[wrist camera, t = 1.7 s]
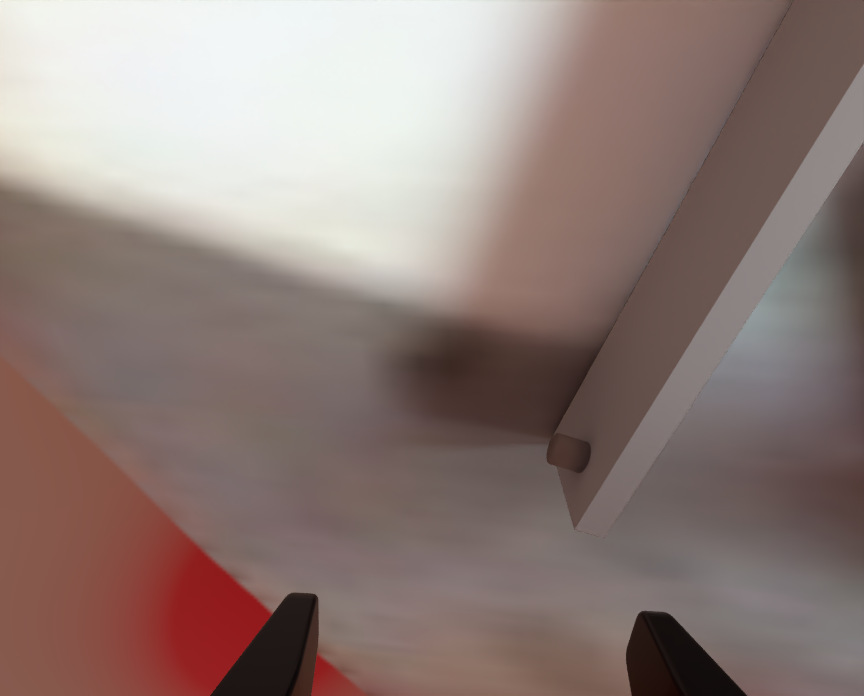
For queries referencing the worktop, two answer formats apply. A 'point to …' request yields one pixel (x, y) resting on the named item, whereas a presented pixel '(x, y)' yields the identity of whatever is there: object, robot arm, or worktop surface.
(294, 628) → the robot arm
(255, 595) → the worktop surface
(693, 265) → the door
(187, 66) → the worktop surface
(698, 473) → the worktop surface
